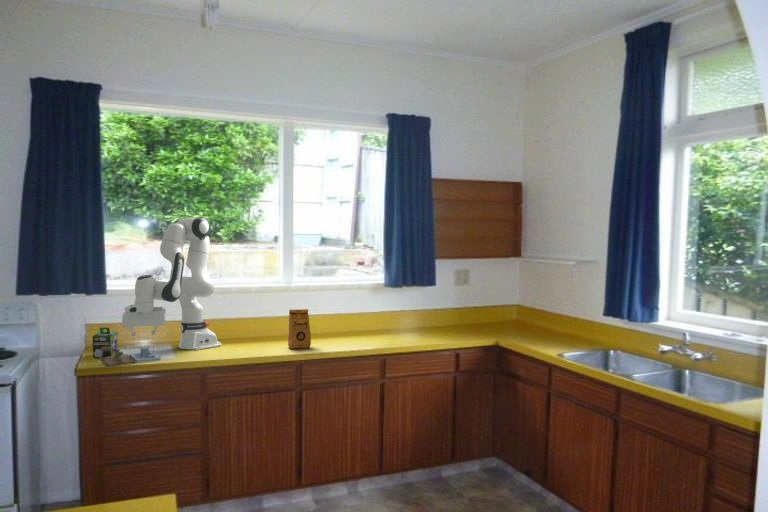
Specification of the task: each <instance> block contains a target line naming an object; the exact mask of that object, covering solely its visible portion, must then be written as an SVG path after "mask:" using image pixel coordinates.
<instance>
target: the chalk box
mask: <svg viewBox="0 0 768 512" xmlns="http://www.w3.org/2000/svg"><path fill="white" fill-rule="evenodd" d="M104 330H105V331H104ZM91 337H92V358H93V357H94V358H102V357H109V356H115V352H113V349H116V348H119V338H118V337H119V336H118V331H110V327H106V326H104V327H99V332H98V333H95V334H93V335H92V336H91Z"/></svg>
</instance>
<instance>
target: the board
mask: <svg viewBox="0 0 768 512" xmlns="http://www.w3.org/2000/svg"><path fill="white" fill-rule="evenodd" d="M113 352H115V355H114V356H109V357H101V361H102V362H103V363H104V362H105V363H106V364H107V365H106V364H105V363H104V364H105V365H106V366H107V367H108V368H109V367H115V365H117V366H122V365H121V364H125V365H129V364H128V363H133V364H136V362H135V360H134V359H132V358H131V357H130V354H124V351H123V350H122V351H121V349H120V348H119V347H118V348H116V349H113Z"/></svg>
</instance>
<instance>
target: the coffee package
mask: <svg viewBox="0 0 768 512" xmlns="http://www.w3.org/2000/svg"><path fill="white" fill-rule="evenodd" d="M288 314H289V317H288V337H287V338H288V339H287V343H288V344H287V346H288V348H289V349H292V350H293V349H295V350H296V349H298V350H299V349H302V350H303V349H310V347H311V344H312V335H311V334H312V333H311V325H310V318H309V308H302V309H296V308H295V309H289V311H288Z"/></svg>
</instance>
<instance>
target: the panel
mask: <svg viewBox="0 0 768 512" xmlns="http://www.w3.org/2000/svg"><path fill="white" fill-rule="evenodd" d="M129 356H130V357H131V358H132V359H134V360H135V361H136V362H139V363H143V362H142V361H147V362H153V361H152V360H155V361H160V360H161V357H160V356H159V355H158V354H157V353H155V352H154V351H150V348H149V347H147V346H146V347H145V346H144V347H140V352H139V353H137V352H136V353H129ZM136 362H135V363H136Z"/></svg>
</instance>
